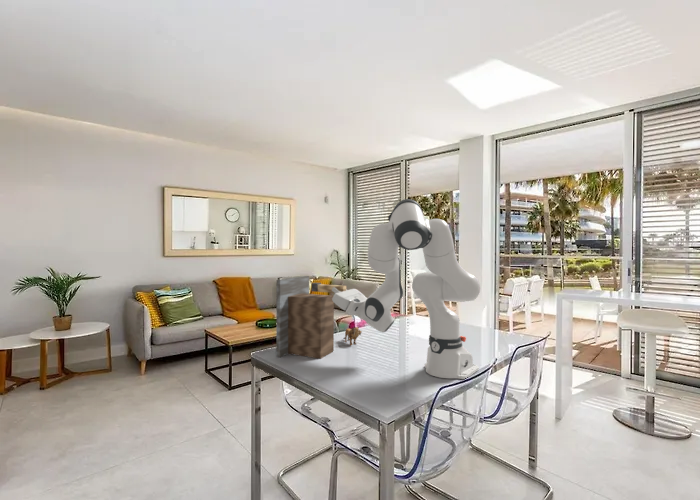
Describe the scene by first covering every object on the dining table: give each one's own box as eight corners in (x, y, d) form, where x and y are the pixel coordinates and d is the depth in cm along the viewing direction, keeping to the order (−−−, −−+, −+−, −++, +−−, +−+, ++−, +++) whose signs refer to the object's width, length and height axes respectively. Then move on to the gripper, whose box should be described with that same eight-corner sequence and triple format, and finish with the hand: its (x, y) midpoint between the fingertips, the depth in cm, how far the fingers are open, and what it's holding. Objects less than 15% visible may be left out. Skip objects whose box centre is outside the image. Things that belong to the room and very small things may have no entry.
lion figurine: (363, 345, 183) (363, 327, 183) (353, 347, 180) (353, 328, 180) (347, 339, 196) (347, 322, 196) (338, 340, 193) (338, 323, 193)
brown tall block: (339, 348, 178) (339, 277, 177) (313, 362, 156) (313, 281, 156) (305, 343, 186) (305, 275, 186) (276, 356, 164) (276, 279, 164)
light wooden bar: (346, 292, 165) (346, 284, 165) (343, 293, 162) (343, 285, 162) (315, 290, 172) (315, 282, 172) (311, 291, 169) (311, 283, 169)
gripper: (372, 296, 169) (348, 279, 174) (353, 302, 151) (327, 284, 156) (366, 307, 170) (342, 291, 176) (346, 315, 152) (320, 296, 157)
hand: (335, 287), depth 165 cm, fingers closed on light wooden bar, 3 cm apart
